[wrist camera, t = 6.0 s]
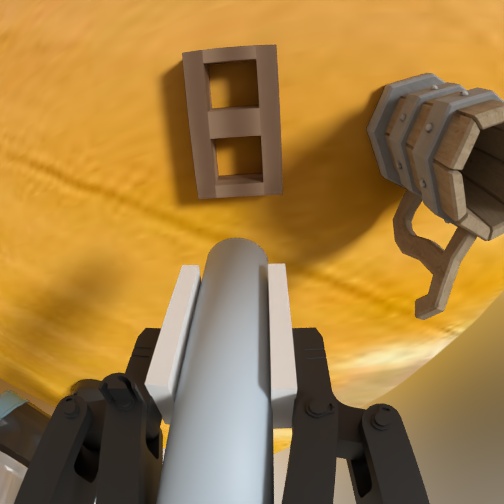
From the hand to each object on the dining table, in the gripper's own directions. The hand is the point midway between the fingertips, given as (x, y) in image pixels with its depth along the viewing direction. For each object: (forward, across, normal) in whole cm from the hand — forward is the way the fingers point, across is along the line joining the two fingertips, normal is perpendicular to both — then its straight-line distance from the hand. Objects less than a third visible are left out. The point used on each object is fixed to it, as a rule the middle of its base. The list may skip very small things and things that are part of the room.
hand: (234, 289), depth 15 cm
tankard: (+20, +17, +1) cm, 26 cm away
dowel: (+2, 0, 0) cm, 2 cm away
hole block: (+20, -1, +5) cm, 20 cm away
